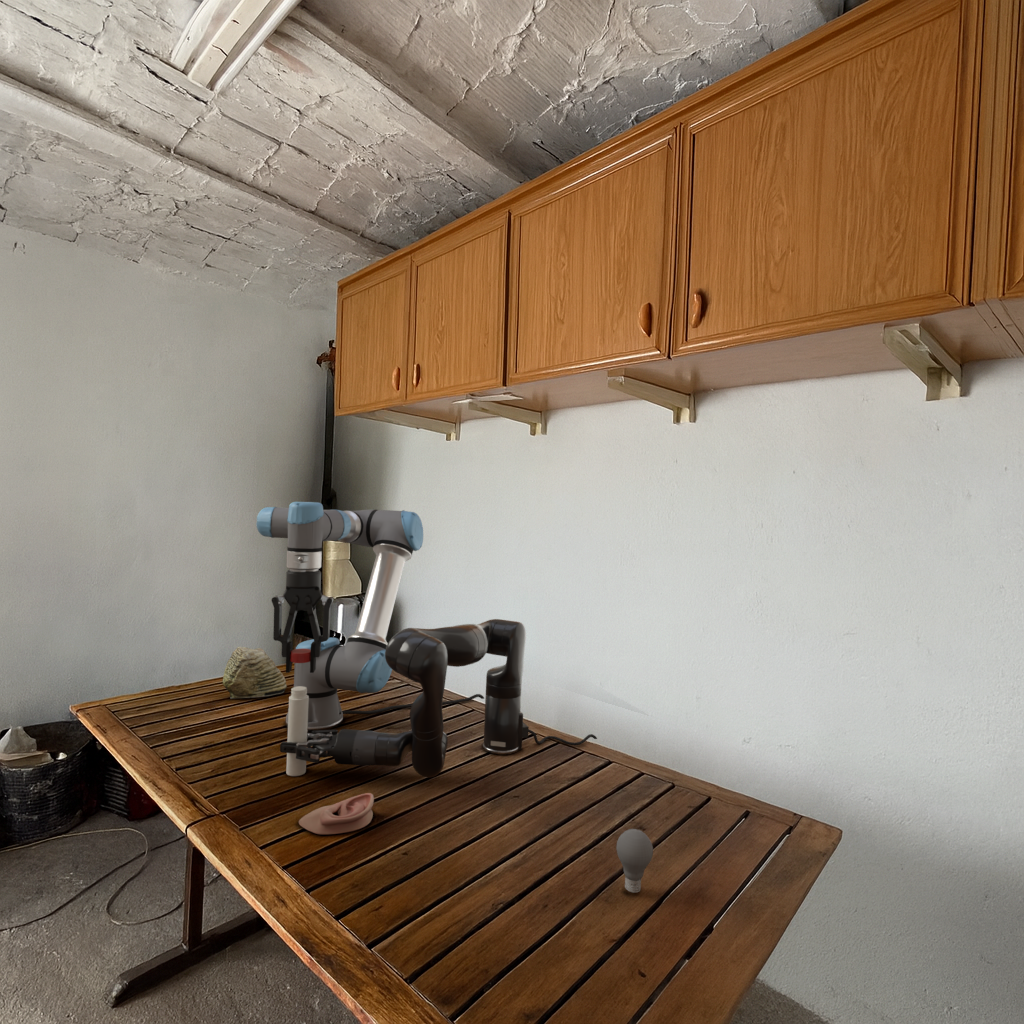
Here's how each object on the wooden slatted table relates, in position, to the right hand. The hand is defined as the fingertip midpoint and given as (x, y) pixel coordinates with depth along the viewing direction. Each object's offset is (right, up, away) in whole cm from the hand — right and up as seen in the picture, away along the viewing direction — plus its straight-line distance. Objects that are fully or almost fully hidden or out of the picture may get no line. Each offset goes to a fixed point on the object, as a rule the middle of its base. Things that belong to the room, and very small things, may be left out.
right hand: (285, 742), depth 145 cm
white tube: (+2, -7, 0) cm, 7 cm away
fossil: (-29, -4, +53) cm, 60 cm away
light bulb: (+72, -11, -39) cm, 83 cm away
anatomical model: (+18, -8, -21) cm, 28 cm away
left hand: (+4, +16, 0) cm, 17 cm away
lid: (+4, +21, 0) cm, 21 cm away
